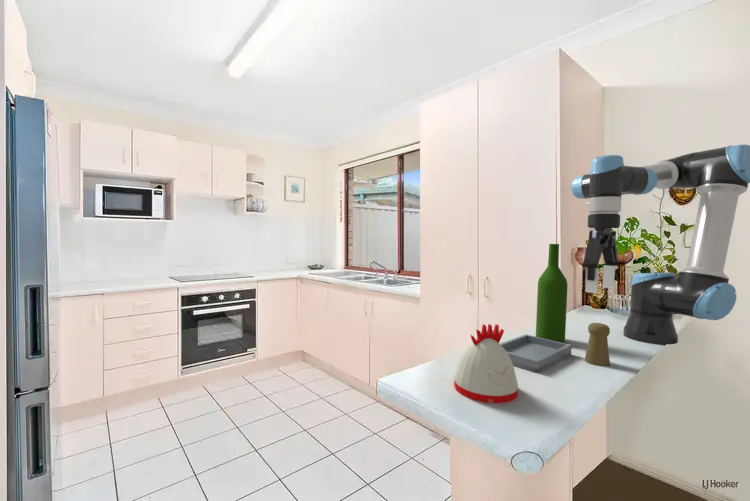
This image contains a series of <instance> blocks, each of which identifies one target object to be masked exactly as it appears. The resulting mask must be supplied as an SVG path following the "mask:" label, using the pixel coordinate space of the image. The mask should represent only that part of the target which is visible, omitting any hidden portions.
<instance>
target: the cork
mask: <svg viewBox="0 0 750 501" xmlns="http://www.w3.org/2000/svg"><path fill="white" fill-rule="evenodd" d="M587 332H588V333H589V338H588V343H587V347H586V351H585V357H584V362H586V363H588V364H589V365H593V366H598V367H610V365H611V360H610V351H609V341H608V337H609V335H610V333H611V328H610V326H608V325H607V324H605V323H601V322H592V323H589V324H588V326H587Z"/></svg>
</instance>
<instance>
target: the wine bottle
mask: <svg viewBox="0 0 750 501" xmlns="http://www.w3.org/2000/svg"><path fill="white" fill-rule="evenodd" d="M548 245H549V246H548V260H547V261H548V262H547V267H546V268H545V269H544V271H543V272H542V274H541V275H540V276H539V277H538V281H537V295H536V296H537V298H536V300H537V301H536V321H535V324H536V325H535V337H539V338H544V339H548V340H552V341H557V342H561V343H565V341H566V328H567V327H566V325H567V308H568V306H567V305H568V304H567V302H568V300H567V299H568V281H567V280H568V279H567V278H566V277H565V275H564V273H563V272H562V270H561V269H560V266H559V263H560V260H559V259H560V258H559V257H560V244H559V243H549V244H548Z"/></svg>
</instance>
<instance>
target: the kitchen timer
mask: <svg viewBox="0 0 750 501" xmlns="http://www.w3.org/2000/svg"><path fill="white" fill-rule="evenodd" d="M499 326H500V325H499V324H495V325H494V327H493V326H492V324H490V323H488V325H486V324H482V327H481V331H480V329H476V330H475V331H476V336H477V338H475V336H474V335H472V334H470V338H471V343H470V344H468V346H466V348H465V349H464V351H463V352H462V354H461V356H460V358H459V360H458V363H457V365H456V368H455V373H454V377H453V378H454V379H453V387H454V389H455V391H456V392H457V393H458V394H460V395H461V396H463V397H464V398H468V399H470V400H473V401H476V402H481V403H485V404H505V403H509V402H513V401H514V400H516V399H517V397H518V396H519V394H518V393H519V384H518V380H517V375H516V371H515V366H513V364H512V361H511V359H510V357H509V355H508V353H507V352H506V350H505V349H504V348H503V347H502V346H501V345H500V342H501V339H502V338H503V336H504V331H505V329H503V328H501V329H499V328H500V327H499ZM493 328H494V329H493Z"/></svg>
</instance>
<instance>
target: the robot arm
mask: <svg viewBox="0 0 750 501" xmlns="http://www.w3.org/2000/svg"><path fill="white" fill-rule="evenodd" d="M624 164H625V162H624V157H623V156H621V155H619V154H608V155H601V156H597V157H596V156H595V158H593V159H592V160H591V163H590V169H589V173H588V174H582V175H580V176H577V177H575V178H574V179H573V180H572V182H571V192H572V195H573V196H574V197H575V198H577V199H580V200H581V199H584V200H585V199H586V200H587V199H588V201H587V203H586V205H587V206H588V213H590V214H589V215H587V228H590V229H594V230H590V231H589V233H588V241H587V246H586V250H585V254H584V258H583V262H582V265H581V266H582V268H586V271H585V273H586V274H585V290H584V291H585V293H589V294H590V293H591V294H598V291H599V273H600V272H599V271H600V268H598V266H599V263H600V260H601V257H602V256H603V262H604V265H603V272H602V288H603V289H612V290H614V289H615V278H616V277H615V276H616V275H615V274H616V267H617V266H618V267H619V266H620V262H619V259H618V258H619V257H618V250H617V249H618V248H617V247H618V246H617V240H616V239H617V238H616V237H617V236H616V234H617V233H616V231H612V229H618V228H620V226H621V215H620V214H619V213H621V212H622V196H624V195H635V196H638V195H639V196H640V195H647V194H650V192H652V191H653V190H654V189H659V190H666V189H688V188H689V189H692V188H693V189H694V188H695V190H696V192H698V193H699V194H700V199H699V203H698V207H697V213H696V218H695V222H694V227H693V233H692V237H691V241H690V246H689V252H688V255H687V256H688V257H687V261H686V266H685V268H683V269H681V270H679V271H678V276H677V275H676V274H675V273H674V272H643V273H642V272H640V273H635V274H634V275H633V276H632V280H631V291H630V294H631V295H630V296H631V297H630V312H629V316H628V318H627V320H626V323H625V326H624V327H623V335H624V337H626V338H629V339H632V340H636V341H639V342H645V343H651V344H657V345H675V344H678V342H679V335H678V334H677V331H676V330H677V329H676V326H675V323H674V320H673V316H674V315H673V314H677V315H682V316H688V317H690V318H691V317H692V318H696V319H698V320H699V319H700V320H709V321H719V320H722V319H724V318H725V317H726V316H728V315H729V314H730V313H731V311H732V310H733V309H734V306H735V304H736V302H737V293H736V292H737V290H736V288H735V287H734V286H733V285H732V284H731V283H729V280H730V277H728V276H727V275H726V274H725V272H724V271H725V266H726V261H727V255H728V251H729V245H730V240H731V236H732V230H733V225H734V221H735V215H736V211H737V206H738V201H739V196H740V195H742V194H745V193H746V192H747V191H748V186H749V184H750V145H749V144H736V145H727V146H723V147H719V148H714V149H706V150H701V151H697V152H690V153H687V154H683V155H680V156H676V157H673V158H669V159H665V160H660V161H657V162H655V163H654V164H651V165H643V166H629V165H624ZM676 276H677V277H676Z"/></svg>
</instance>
